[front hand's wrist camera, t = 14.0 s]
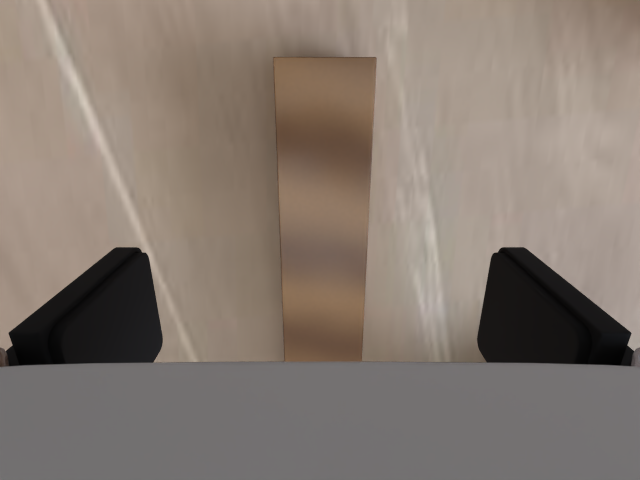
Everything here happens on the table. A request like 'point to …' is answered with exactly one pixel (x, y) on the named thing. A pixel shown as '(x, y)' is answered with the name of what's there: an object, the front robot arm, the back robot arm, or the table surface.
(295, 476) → the front robot arm
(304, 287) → the bar
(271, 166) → the table surface
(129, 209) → the table surface
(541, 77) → the table surface
